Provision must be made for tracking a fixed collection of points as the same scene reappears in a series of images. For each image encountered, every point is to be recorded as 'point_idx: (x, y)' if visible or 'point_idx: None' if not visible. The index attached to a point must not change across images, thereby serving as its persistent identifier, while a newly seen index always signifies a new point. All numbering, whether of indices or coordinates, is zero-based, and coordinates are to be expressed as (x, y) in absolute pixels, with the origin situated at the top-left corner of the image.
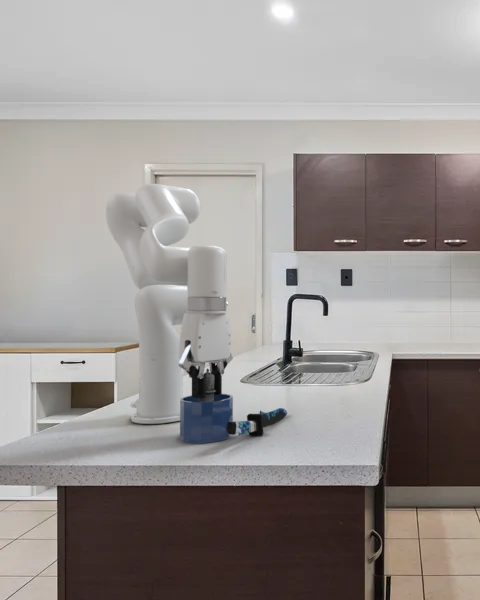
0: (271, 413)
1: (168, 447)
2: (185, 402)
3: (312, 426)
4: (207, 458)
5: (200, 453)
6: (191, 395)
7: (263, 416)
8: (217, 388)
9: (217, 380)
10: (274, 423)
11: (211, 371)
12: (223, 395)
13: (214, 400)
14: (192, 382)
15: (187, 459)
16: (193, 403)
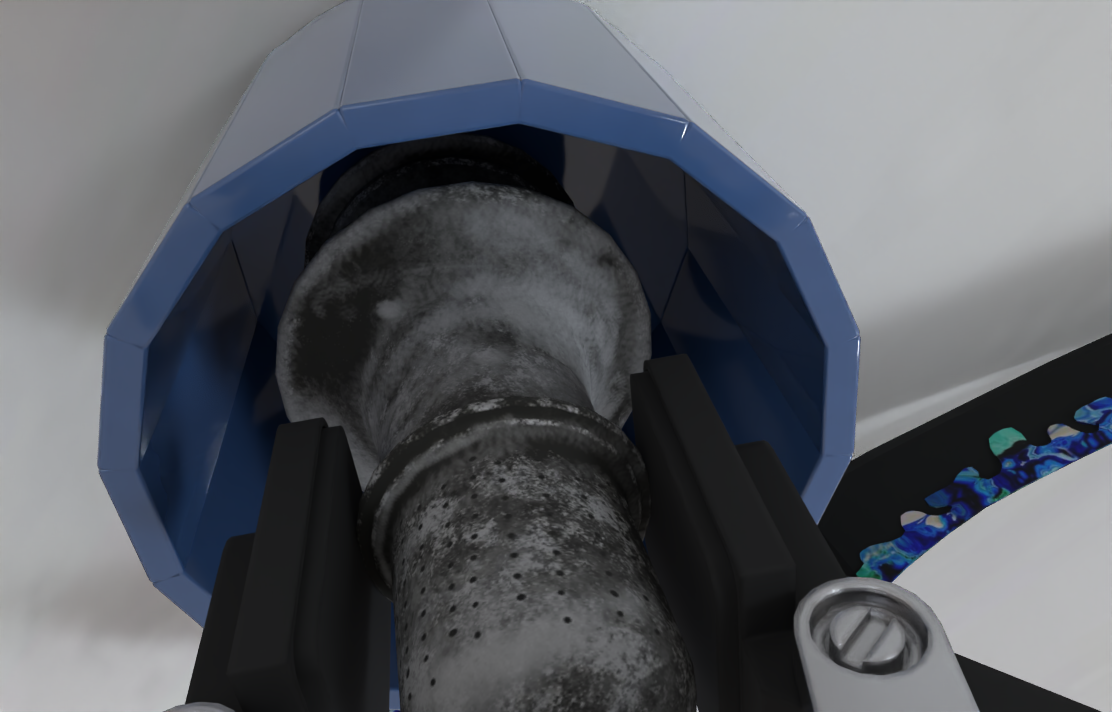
0: (1087, 442)
1: (19, 260)
2: (109, 488)
3: (1093, 589)
4: (123, 682)
5: (146, 576)
6: (484, 102)
7: (902, 530)
8: (663, 588)
9: (697, 695)
10: (1094, 346)
11: (796, 683)
12: (817, 403)
13: (758, 243)
14: (193, 686)
15: (5, 622)
16: (173, 587)
